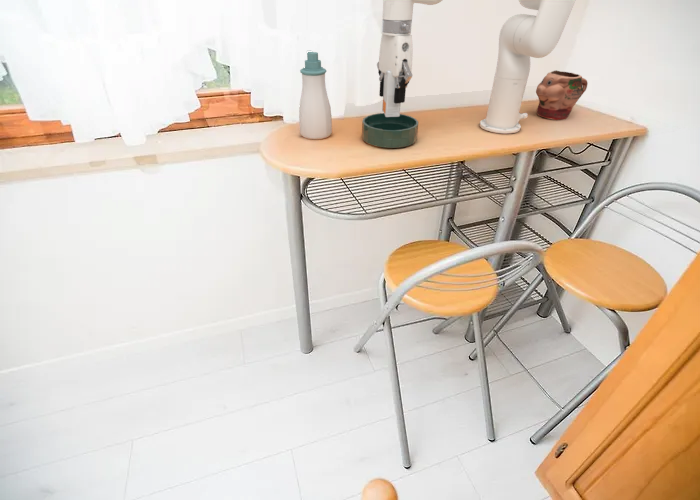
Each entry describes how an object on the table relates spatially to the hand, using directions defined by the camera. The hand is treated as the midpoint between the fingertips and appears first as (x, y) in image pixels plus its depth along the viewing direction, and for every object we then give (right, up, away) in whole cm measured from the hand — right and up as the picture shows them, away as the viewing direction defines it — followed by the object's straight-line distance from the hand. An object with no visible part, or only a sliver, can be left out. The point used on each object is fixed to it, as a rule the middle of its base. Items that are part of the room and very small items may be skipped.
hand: (391, 98), depth 112 cm
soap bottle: (-22, -7, +10) cm, 26 cm away
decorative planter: (+60, +4, +27) cm, 66 cm away
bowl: (0, -10, +7) cm, 12 cm away
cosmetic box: (0, -4, +3) cm, 4 cm away
